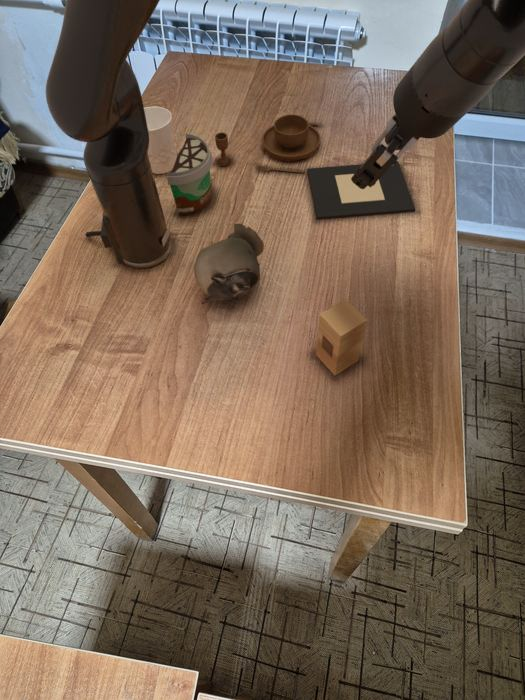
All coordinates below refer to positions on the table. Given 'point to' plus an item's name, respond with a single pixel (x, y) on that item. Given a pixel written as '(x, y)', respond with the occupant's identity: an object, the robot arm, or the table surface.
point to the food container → (191, 176)
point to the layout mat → (357, 193)
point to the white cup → (160, 139)
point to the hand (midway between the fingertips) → (374, 160)
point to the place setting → (281, 141)
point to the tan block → (340, 336)
